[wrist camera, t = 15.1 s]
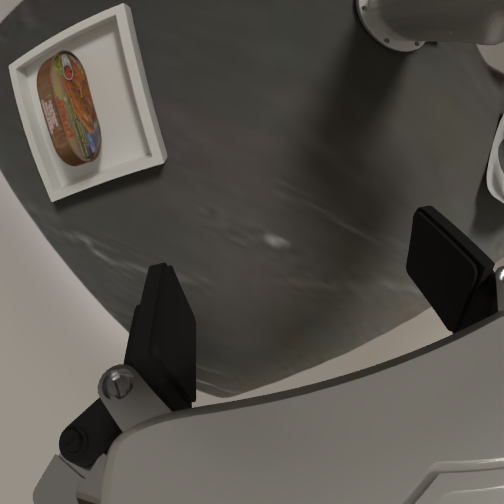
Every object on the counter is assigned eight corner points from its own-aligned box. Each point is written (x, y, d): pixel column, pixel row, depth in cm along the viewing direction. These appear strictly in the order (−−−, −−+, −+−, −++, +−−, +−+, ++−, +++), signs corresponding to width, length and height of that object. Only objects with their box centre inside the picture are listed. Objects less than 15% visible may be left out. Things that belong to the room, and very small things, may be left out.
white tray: (130, 8, 24) (123, 3, 21) (167, 156, 37) (164, 163, 34) (20, 64, 24) (8, 65, 21) (60, 193, 37) (51, 202, 34)
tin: (107, 150, 34) (83, 170, 27) (88, 157, 34) (62, 179, 27) (81, 50, 25) (50, 47, 18) (61, 60, 25) (28, 61, 18)
